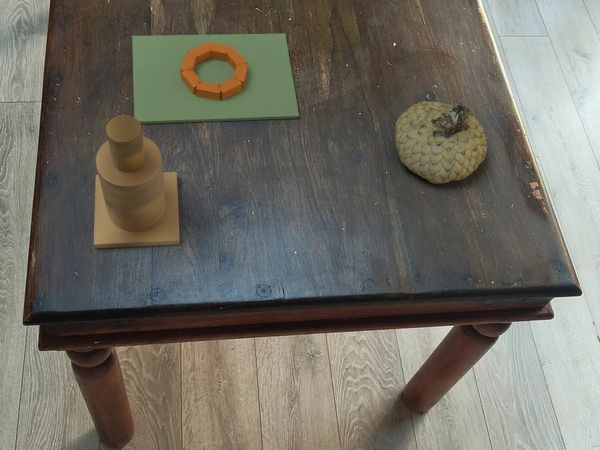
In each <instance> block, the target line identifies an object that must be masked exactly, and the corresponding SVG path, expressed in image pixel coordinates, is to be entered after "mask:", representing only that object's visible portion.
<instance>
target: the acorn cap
mask: <svg viewBox="0 0 600 450" xmlns="http://www.w3.org/2000/svg"><path fill="white" fill-rule="evenodd" d="M470 112H471V110H470V108H468V107H467V106H466V105H465V104H463V102H458V103H456V104H455V105H451V104H449V103H444V102H439V101H432V100H431V101H430V100H429V101H426V100H422V101H420V102H418V103H413V104H412V105H411V106H410V107H408V108H407V109H406V110H405V111H404V112H402V113H401V114H400V115H399V116H398V118H397V119H396V122H395V124H394V137H395V138H394V144H395V149H396V151H397V153H398V154H397V155H398V158H399V160H400V163H402V164H403V165H404V167H406V168H407V169H408V170H409V171H410V172H412V173H414V174H416V175H417V176H419V177H421V178H422V179H425V180H426V181H428V182H429V183H430V184H435V185H437V184H447V183H449V182H452V181H460V180H461V181H462V180H464V179H466V178H467V177H468V176H470V175H471V174H472V173H473V172H475V171H476V170H477V169H478V167H479V166H480V164H481V163H483V162H484V160H485V159H486V156H487V153H488V151H487V149H488V142H487V137H486V135H485V130H484V127H483V126H482V124H481V123H480V121H479V120H478V119H477V118H476V117H475V116H473V115H472V114H470Z"/></svg>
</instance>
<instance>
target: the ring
mask: <svg viewBox="0 0 600 450" xmlns="http://www.w3.org/2000/svg"><path fill="white" fill-rule="evenodd" d="M209 58H213V59H218V60H224V61H227V62H228V63H229V64H230V65H231V66H232V67H233V68H234V70H235V74H234V77H233V78H231V79H229V80H227V81H225V82H223V83H221V84H215V83H209V82H204V81H201V80H200V79H199V77H198V76H197V75H196V74H195V73H194V69H195V66H196V64H198V63H200V62H202V61H204V60H207V59H209ZM247 73H248V65H247V61H246V60H245V59H244V58H243V57H242V56H241V55H240V53H239V52H238V51H237V50H236V49H235V48H233V49H232V46H227V45H222V44H217V43H212V42H210V43H209V45H208V43H205V44H202V45H200V46H198V47H196V48H193V49H191V50H189V51H188V53H186V54H185V57H184V60H183V63H182V66H181V80H182V81H183V82H184V83H185V84H186V86H187V87H188V88H189V89H190V91H191V92H192V93H193V94H196V96H198V97H204V98H209V99H214V100H220V97H221V99H222V100H223V99H226V98H228V97H230V96H232V95H234V94H236V93H238V92H240V91H242V89H243V88H244V85H245V81H246V77H247Z"/></svg>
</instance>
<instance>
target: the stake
mask: <svg viewBox="0 0 600 450" xmlns="http://www.w3.org/2000/svg"><path fill="white" fill-rule="evenodd" d="M105 131H106V137H107V140H106V141H105V142H104V143H103V144H102V145H101V146H100V147H99V149H98V151H97V153H96V157H95V166H96V170H97V174H95V183H94V184H95V186H94V187H95V188H94V189H95V190H94V217H93V218H94V221H93V247H94V249H112V248H113V249H115V248H136V247H153V246H154V247H155V246H157V247H158V246H174V245H175V246H176V245H177V246H178V245H180V240H181V239H180V220H179V219H180V215H179V190H178V189H179V188H178V172H177V171H164V168H163V159H162V152H161V149H160V148H159V146H158V145H157V144H156V143H155V142H154V141H153V140H151V139H150V138H148V137H147V136H145V135H143V129H142V124H140V122H139V121H138V120H137V119H136V118H134V115H133V116H132V115H129V114H119V115H116V116H114V117H112V118H111V119H110V120H109V121H108V122H107V124H106V126H105Z"/></svg>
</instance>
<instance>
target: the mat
mask: <svg viewBox="0 0 600 450" xmlns="http://www.w3.org/2000/svg"><path fill="white" fill-rule="evenodd" d="M131 41H132V42H131V43H132V44H131V47H132V82H133V83H132V84H133V87H132V88H133V89H132V90H133V117H134V118H136V119H137V120H138V121H139V122H140V124H141V125H147V124H148V125H150V124H174V123H175V124H177V123H178V124H179V123H205V122H231V121H233V122H235V121H260V120H287V119H288V120H289V119H299V118H300V112H299V106H298V101H297V95H296V89H295V88H296V87H295V83H294V77H293V76H294V75H293V72H292V66H291V65H292V64H291V59H290V54H289V48H288V41H287V35H286V33H230V34H225V33H224V34H221V33H220V34H164V35H132V36H131ZM210 42H212V43H217V44H222V45H227V46H232V49H233V48H235V49H236V50H237V51H238V52H239V53H240V55H241V56H242V57H243V58H244V59H245V60H246V61H247V65H248V73H247V77H246V81H245V85H244V88H243V89H242V91H240V92H238V93H236V94H234V95H232V96H230V97H228V98H226V99H223V100H222V99H221V97H220V100H214V99H209V98H204V97H198V96H196V94H193V93H192V92H191V91H190V89H189V88H188V87H187V86H186V84H185V83H184V82H183V81H182V80H181V66H182V63H183V60H184V57H185V54H186V53H188V51H189V50H191V49H193V48H196V47H198V46H200V45H202V44H205V43H208V45H209V43H210ZM194 73H195V74H196V75H197V76H198V77H199V79H200V80H201V81H204V82H209V83H215V84H221V83H223V82H225V81H227V80H229V79H231V78H233V77H234V74H235V70H234V68H233V67H232V66H231V65H230V64H229V63H228V62H227V61H224V60H218V59H213V58H209V59H207V60H204V61H202V62H200V63H198V64H196V66H195V69H194Z"/></svg>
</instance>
